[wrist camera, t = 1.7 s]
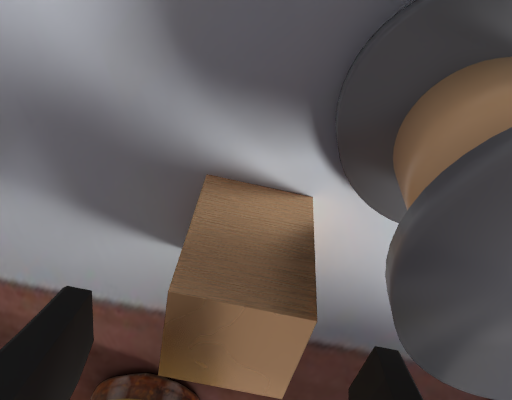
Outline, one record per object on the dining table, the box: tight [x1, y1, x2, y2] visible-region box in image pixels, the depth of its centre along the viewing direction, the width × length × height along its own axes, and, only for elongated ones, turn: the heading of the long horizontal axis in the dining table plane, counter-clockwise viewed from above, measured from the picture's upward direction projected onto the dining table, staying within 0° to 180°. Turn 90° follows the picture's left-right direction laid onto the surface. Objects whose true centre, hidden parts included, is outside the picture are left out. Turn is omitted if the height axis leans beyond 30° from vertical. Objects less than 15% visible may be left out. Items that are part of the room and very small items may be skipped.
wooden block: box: [158, 174, 317, 399], centre depth 13 cm, size 4×4×5 cm
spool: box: [336, 0, 512, 400], centre depth 9 cm, size 7×7×7 cm
